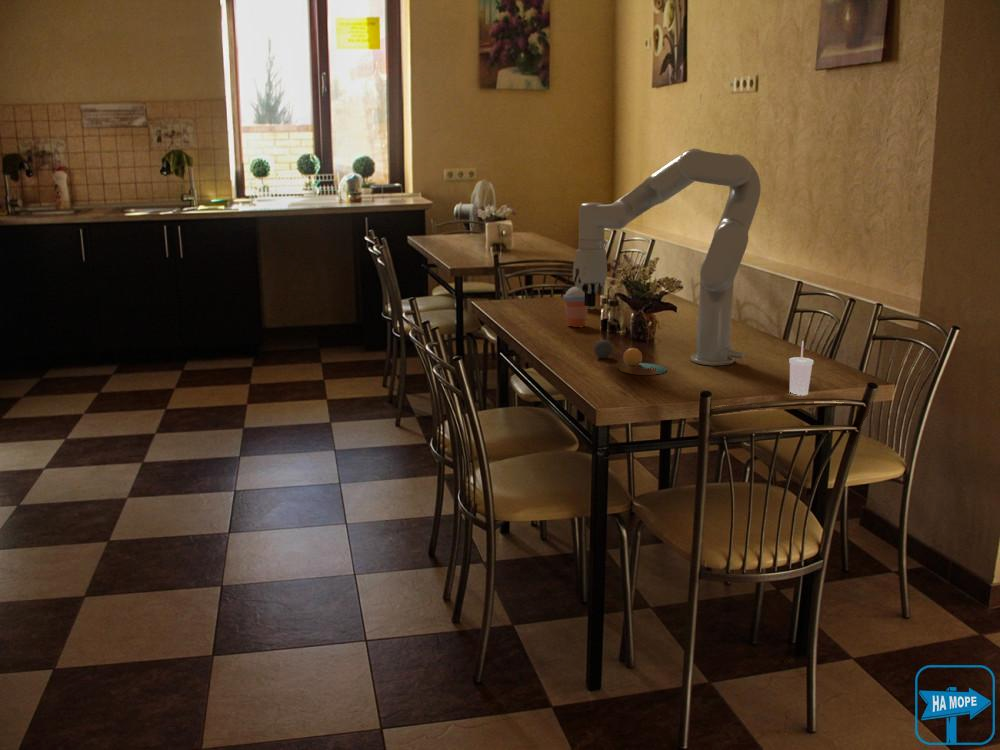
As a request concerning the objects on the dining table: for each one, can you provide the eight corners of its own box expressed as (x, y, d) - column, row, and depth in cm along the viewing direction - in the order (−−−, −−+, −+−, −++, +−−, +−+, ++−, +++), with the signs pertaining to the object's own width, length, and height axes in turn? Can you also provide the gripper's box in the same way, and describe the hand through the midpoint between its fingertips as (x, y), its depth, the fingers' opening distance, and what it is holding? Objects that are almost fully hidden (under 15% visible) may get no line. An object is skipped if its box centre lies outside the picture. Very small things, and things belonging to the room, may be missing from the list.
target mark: (672, 366, 282) (673, 366, 282) (658, 377, 270) (658, 377, 270) (626, 361, 288) (626, 361, 288) (610, 372, 276) (611, 371, 276)
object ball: (638, 347, 285) (641, 365, 285) (619, 350, 285) (623, 369, 285) (641, 345, 280) (645, 364, 279) (623, 349, 279) (627, 367, 279)
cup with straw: (587, 329, 333) (588, 276, 329) (561, 328, 335) (562, 276, 331) (590, 323, 342) (591, 273, 338) (564, 322, 344) (565, 272, 339)
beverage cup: (809, 397, 252) (814, 344, 248) (785, 394, 254) (789, 342, 250) (811, 391, 257) (816, 339, 254) (787, 389, 259) (791, 337, 256)
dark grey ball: (610, 338, 295) (612, 356, 295) (592, 340, 295) (594, 358, 295) (612, 339, 289) (614, 357, 290) (593, 341, 289) (596, 360, 290)
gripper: (602, 242, 296) (600, 301, 300) (563, 245, 288) (562, 306, 292) (618, 244, 290) (616, 305, 294) (579, 248, 282) (578, 310, 286)
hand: (589, 305), depth 293 cm, fingers closed
